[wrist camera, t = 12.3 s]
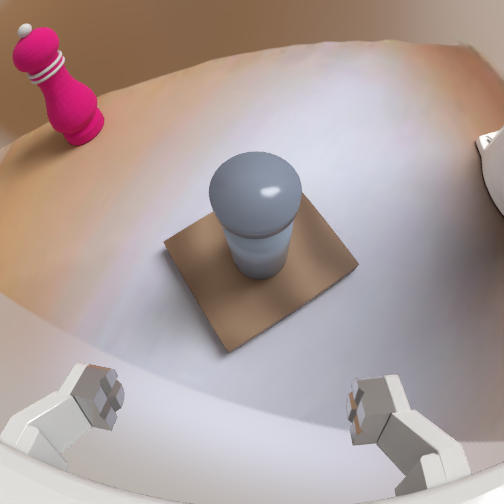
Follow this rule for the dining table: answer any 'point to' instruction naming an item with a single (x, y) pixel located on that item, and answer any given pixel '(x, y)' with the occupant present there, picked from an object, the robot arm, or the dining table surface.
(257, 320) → the walnut board
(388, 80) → the dining table surface
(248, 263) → the spice jar
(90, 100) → the pepper mill
